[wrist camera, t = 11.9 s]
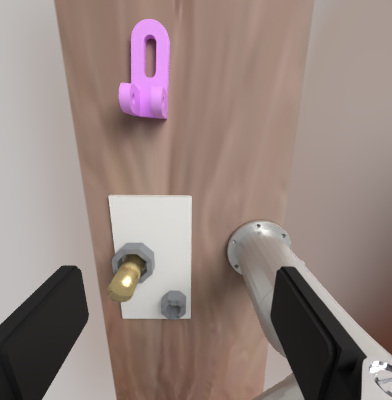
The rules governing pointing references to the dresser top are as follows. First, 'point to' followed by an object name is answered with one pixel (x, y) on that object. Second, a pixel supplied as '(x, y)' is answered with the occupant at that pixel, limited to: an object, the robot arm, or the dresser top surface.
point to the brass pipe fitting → (126, 278)
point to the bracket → (140, 84)
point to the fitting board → (155, 252)
